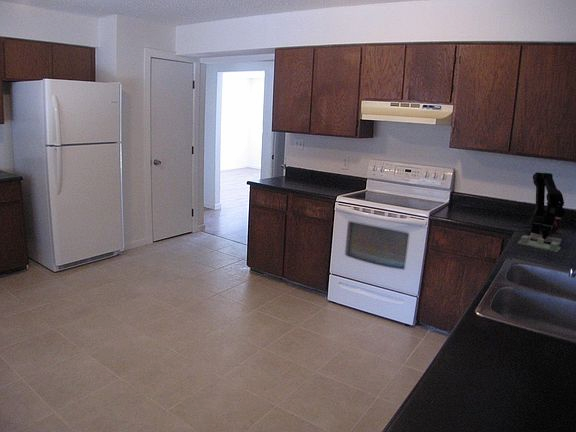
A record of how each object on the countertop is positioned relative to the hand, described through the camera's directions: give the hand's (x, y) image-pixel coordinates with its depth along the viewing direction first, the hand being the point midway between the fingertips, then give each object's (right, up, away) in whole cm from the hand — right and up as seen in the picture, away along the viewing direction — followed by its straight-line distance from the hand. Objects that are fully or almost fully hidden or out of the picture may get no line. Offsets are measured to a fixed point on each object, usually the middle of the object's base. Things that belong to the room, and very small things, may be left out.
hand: (545, 239), depth 275 cm
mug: (+17, +3, +26) cm, 31 cm away
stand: (-11, -3, -13) cm, 17 cm away
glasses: (-1, -1, -1) cm, 2 cm away
